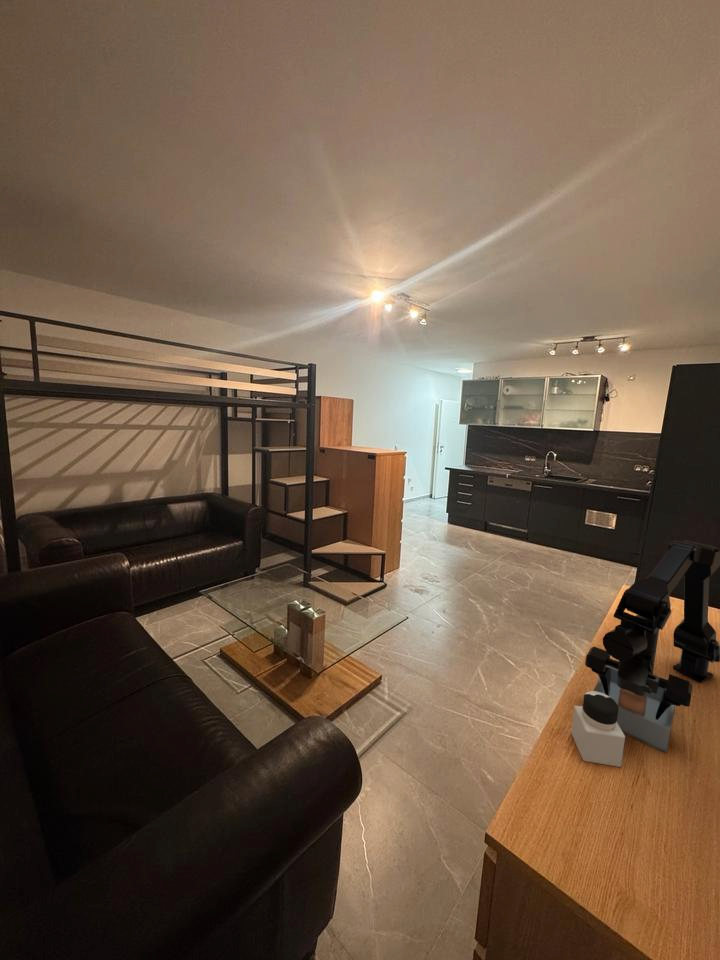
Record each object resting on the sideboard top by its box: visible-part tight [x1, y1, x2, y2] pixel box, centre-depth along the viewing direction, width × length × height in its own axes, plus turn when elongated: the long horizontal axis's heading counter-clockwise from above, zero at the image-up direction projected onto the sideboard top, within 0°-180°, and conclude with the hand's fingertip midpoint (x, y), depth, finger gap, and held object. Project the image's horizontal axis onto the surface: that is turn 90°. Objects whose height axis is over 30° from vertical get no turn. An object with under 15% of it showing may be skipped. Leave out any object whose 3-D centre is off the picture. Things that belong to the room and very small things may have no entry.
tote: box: [592, 668, 676, 754], centre depth 89 cm, size 17×14×6 cm
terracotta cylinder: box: [618, 688, 647, 717], centre depth 85 cm, size 5×5×7 cm
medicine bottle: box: [570, 690, 626, 768], centre depth 78 cm, size 7×7×12 cm
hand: (631, 707), depth 85 cm, fingers open, 9 cm apart
